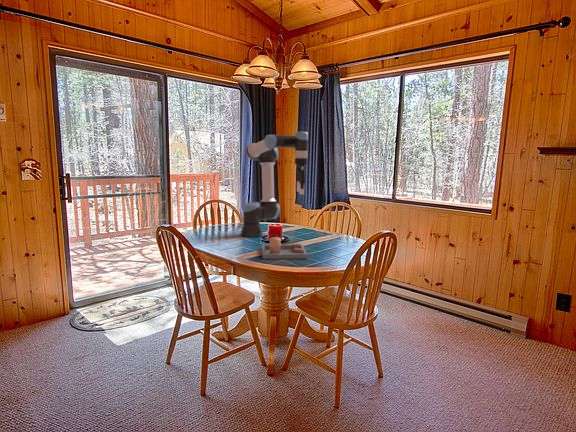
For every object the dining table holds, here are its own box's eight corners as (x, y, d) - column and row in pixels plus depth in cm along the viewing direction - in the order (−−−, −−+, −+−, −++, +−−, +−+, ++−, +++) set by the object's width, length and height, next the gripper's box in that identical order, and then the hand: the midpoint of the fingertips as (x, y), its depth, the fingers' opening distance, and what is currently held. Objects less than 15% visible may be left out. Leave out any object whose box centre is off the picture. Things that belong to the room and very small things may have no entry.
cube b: (295, 254, 212) (295, 247, 212) (301, 254, 212) (302, 248, 211) (294, 256, 208) (294, 249, 208) (301, 256, 208) (301, 250, 207)
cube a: (291, 250, 221) (292, 243, 221) (298, 249, 222) (298, 243, 222) (293, 251, 217) (293, 245, 217) (300, 251, 219) (300, 245, 218)
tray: (261, 249, 223) (261, 244, 223) (302, 249, 226) (302, 244, 225) (262, 259, 203) (262, 254, 202) (307, 259, 205) (307, 254, 205)
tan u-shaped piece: (269, 251, 217) (269, 237, 215) (280, 251, 217) (280, 237, 216) (269, 255, 210) (269, 239, 209) (280, 254, 211) (281, 239, 209)
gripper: (292, 157, 231) (292, 190, 235) (297, 158, 206) (296, 195, 210) (304, 157, 232) (303, 190, 235) (310, 158, 207) (309, 195, 211)
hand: (300, 193), depth 223 cm, fingers open, 13 cm apart
